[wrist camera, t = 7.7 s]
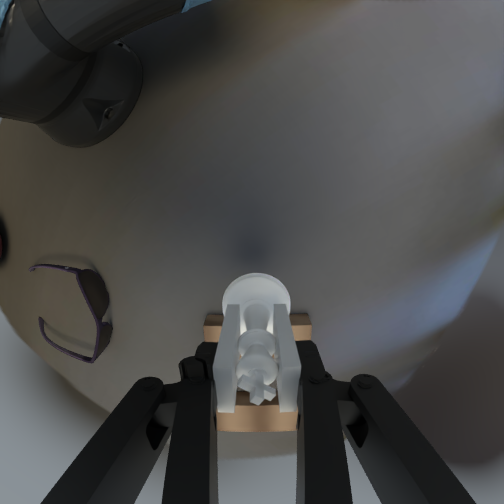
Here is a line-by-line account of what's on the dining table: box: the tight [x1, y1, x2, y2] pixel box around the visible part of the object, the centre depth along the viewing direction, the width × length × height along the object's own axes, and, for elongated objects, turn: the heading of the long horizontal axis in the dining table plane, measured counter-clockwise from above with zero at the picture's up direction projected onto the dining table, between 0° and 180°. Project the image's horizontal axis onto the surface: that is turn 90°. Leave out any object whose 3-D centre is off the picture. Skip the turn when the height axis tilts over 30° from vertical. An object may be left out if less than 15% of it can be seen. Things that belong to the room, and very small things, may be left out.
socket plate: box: [203, 314, 312, 432], centre depth 33 cm, size 12×18×3 cm, turn 1°
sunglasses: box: [29, 264, 113, 363], centre depth 31 cm, size 14×16×5 cm
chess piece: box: [222, 273, 291, 405], centre depth 15 cm, size 5×5×10 cm
